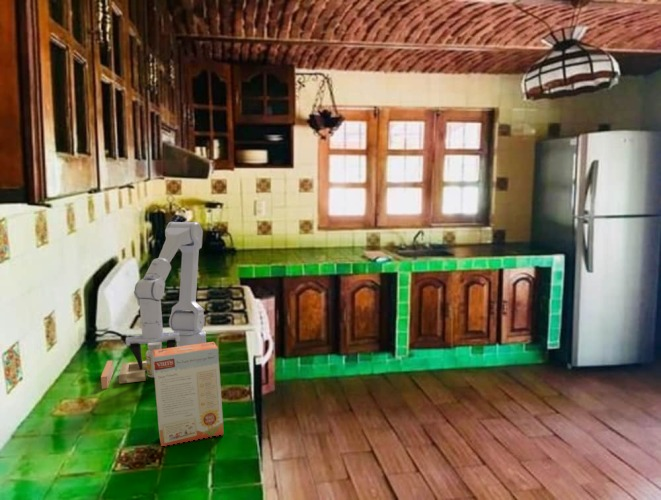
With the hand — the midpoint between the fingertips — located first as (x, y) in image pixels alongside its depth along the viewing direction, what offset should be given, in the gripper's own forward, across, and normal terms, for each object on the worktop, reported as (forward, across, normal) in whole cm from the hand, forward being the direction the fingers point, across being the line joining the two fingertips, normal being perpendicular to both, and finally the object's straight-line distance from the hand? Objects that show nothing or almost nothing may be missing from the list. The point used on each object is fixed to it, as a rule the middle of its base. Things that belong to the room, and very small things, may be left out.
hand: (155, 366), depth 164 cm
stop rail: (+4, -14, +6) cm, 16 cm away
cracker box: (+4, +9, -38) cm, 40 cm away
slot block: (+4, -6, +6) cm, 10 cm away
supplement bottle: (+5, 0, +6) cm, 7 cm away
